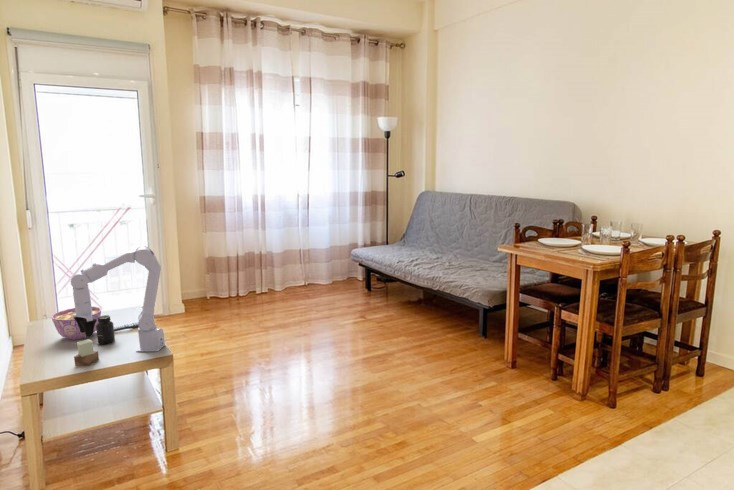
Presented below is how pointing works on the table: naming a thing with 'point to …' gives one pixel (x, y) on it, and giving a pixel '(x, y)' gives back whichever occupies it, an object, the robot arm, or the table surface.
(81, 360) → the walnut block
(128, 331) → the table surface
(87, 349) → the sage block
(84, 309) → the robot arm
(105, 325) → the supplement bottle
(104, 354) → the table surface
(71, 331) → the bowl of food
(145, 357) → the table surface
